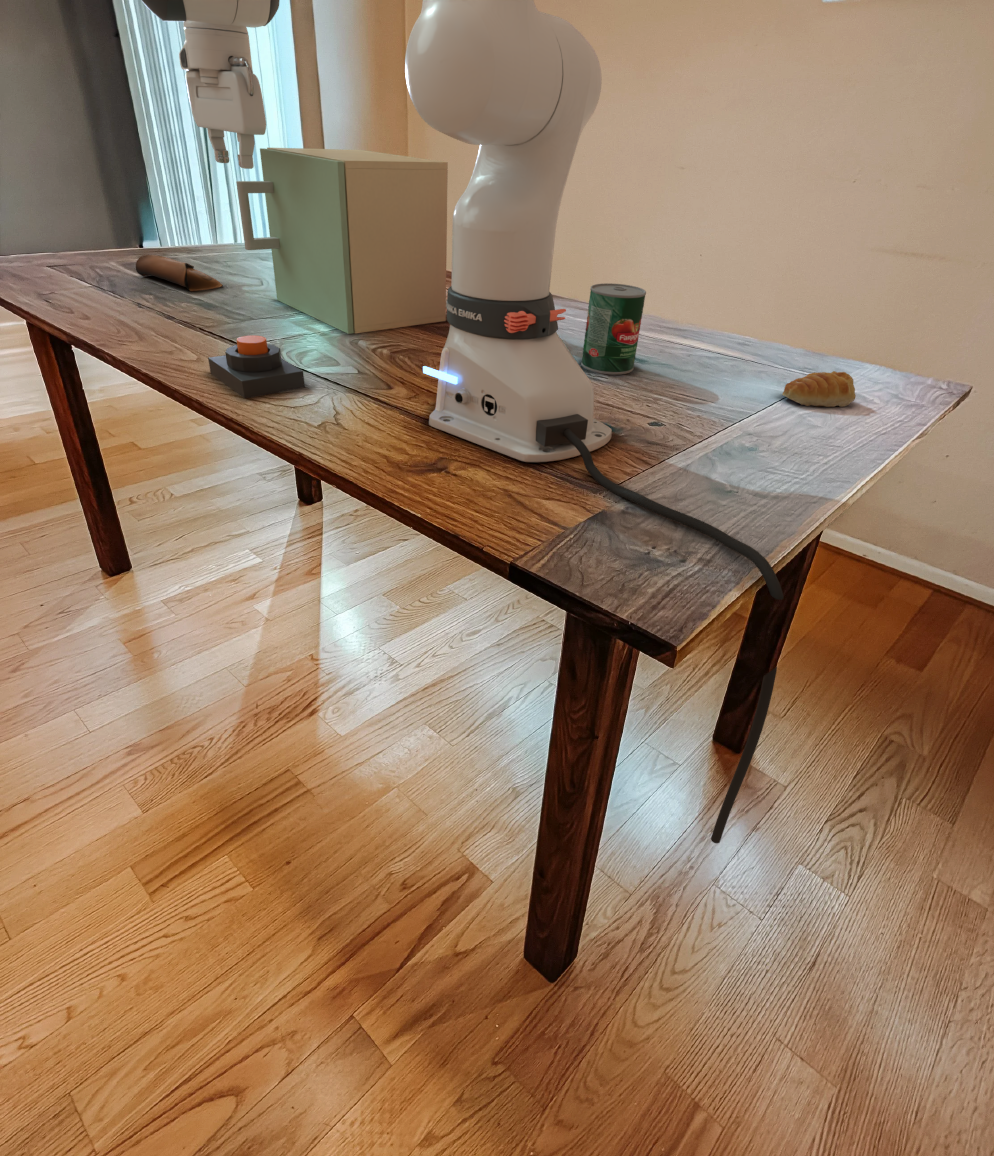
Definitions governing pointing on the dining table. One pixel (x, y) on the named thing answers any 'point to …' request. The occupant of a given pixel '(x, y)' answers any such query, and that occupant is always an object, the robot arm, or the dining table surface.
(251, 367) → the control block
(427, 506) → the dining table surface
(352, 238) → the cupboard
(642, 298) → the canned tomato
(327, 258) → the cupboard door
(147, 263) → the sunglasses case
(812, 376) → the pastry
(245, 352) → the button
